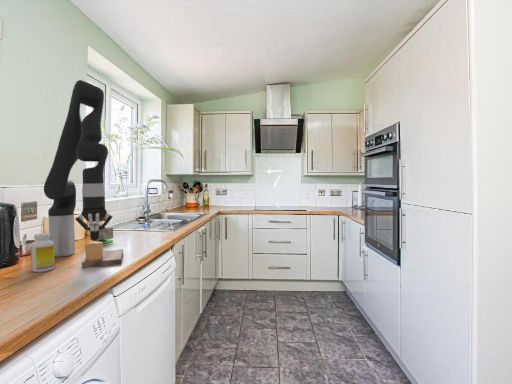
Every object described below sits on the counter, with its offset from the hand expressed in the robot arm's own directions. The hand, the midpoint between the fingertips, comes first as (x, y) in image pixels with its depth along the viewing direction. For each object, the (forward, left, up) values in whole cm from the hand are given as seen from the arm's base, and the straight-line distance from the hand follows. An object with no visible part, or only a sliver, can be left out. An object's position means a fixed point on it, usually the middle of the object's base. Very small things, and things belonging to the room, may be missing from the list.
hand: (95, 240), depth 114 cm
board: (+3, +4, -9) cm, 10 cm away
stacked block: (-3, +44, -9) cm, 45 cm away
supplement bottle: (-16, -2, -9) cm, 19 cm away
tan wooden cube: (0, 0, -7) cm, 7 cm away
